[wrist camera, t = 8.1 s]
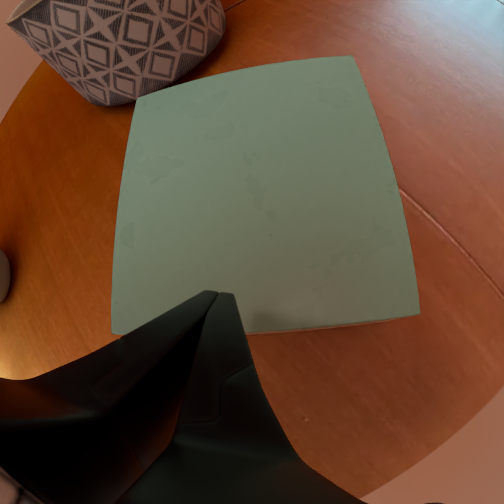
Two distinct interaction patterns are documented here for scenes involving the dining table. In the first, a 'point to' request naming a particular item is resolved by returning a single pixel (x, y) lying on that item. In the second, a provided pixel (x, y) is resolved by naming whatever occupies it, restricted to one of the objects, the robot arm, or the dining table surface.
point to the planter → (120, 42)
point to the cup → (4, 275)
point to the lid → (263, 202)
